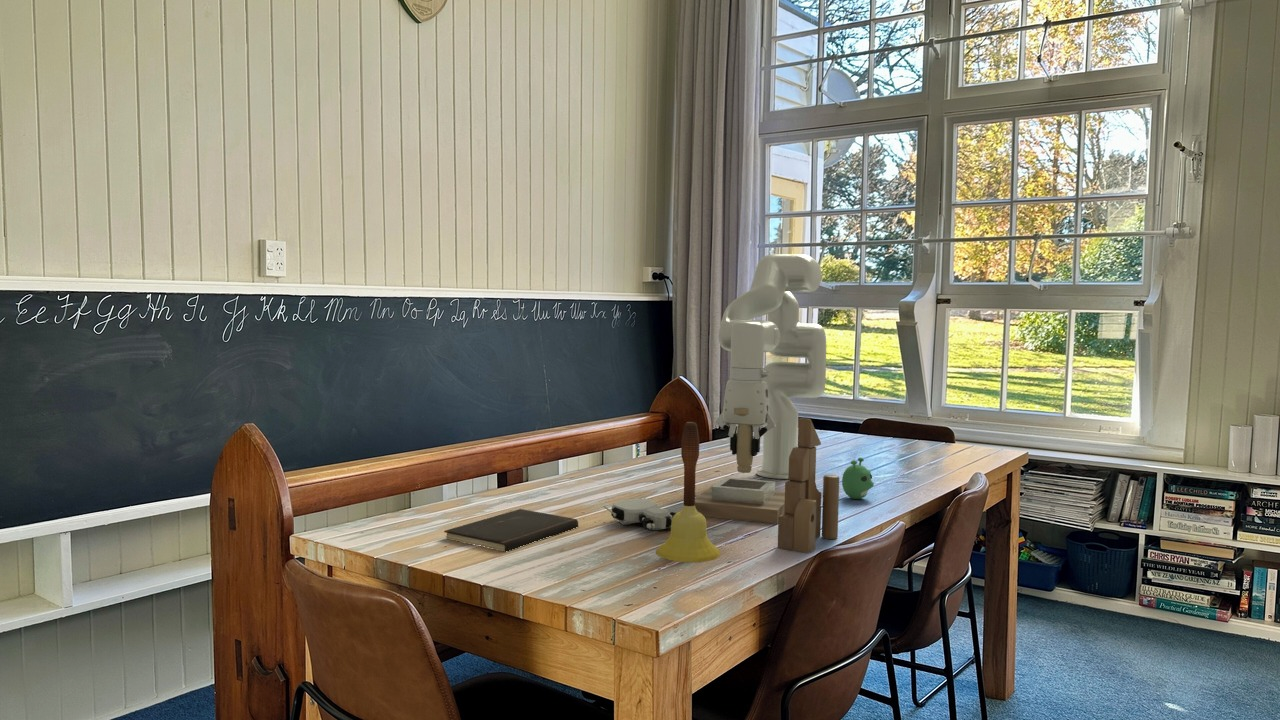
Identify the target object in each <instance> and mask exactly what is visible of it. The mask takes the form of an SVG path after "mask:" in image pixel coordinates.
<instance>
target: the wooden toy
mask: <svg viewBox="0 0 1280 720" xmlns="http://www.w3.org/2000/svg"><path fill="white" fill-rule="evenodd" d="M821 445H822V441H821V440H820V437H819V435H818V432H817V431H816V428H815V426H814V423H813V421H812V419H810V418H807V417H804V418H802V417H798V443H797V447H794V448H793V449H792V451H791V454H790V456H789V472H788V479H787V481H785V483H784V491H785V502H784V513H785V514H783V515H780V516H779V517H778V525H777V548H778V549H781V550H787V551H794V552H799V553H804V554H809V553H811V552H813V551H815V550H816V539H818V538H819V537H822V538H823V539H826V540H836V539H837V538H838V536H839V535H838V534H839V505H840V501H839V500H840V477H839V475H836V474H825V475H823V477H822V479H823V481H822V482H823V483H822V491H819V489H818V487H817V484H816V472H817V469H816V466H817V447H818V446H821Z"/></svg>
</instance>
